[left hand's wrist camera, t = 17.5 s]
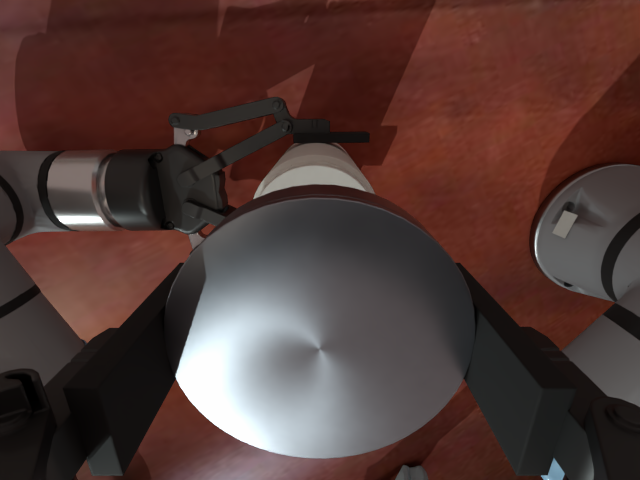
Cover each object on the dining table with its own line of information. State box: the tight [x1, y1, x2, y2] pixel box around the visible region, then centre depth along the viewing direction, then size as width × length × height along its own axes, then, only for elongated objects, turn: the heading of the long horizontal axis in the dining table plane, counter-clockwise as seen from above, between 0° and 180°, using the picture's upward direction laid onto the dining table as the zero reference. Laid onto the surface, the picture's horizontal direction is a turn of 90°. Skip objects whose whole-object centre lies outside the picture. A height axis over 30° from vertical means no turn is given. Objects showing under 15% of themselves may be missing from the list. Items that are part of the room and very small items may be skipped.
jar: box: [254, 143, 375, 199], centre depth 29 cm, size 9×9×18 cm
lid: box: [164, 184, 476, 459], centre depth 11 cm, size 10×10×2 cm
